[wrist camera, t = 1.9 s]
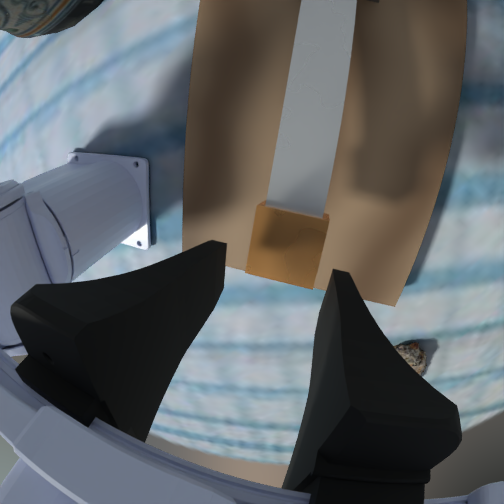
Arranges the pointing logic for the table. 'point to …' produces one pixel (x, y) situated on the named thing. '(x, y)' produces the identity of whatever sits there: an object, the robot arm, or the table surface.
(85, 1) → the beer stein
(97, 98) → the table surface
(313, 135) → the press lever
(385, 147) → the base
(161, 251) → the table surface
